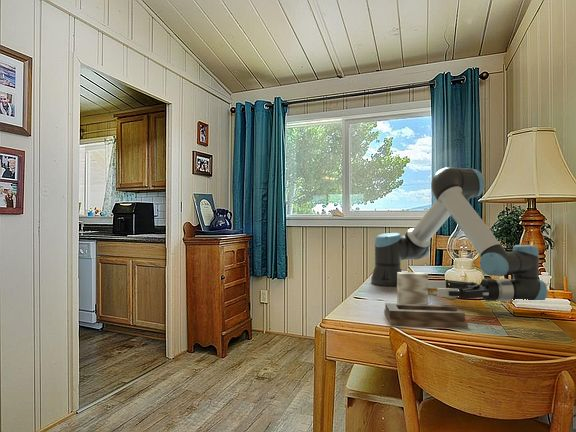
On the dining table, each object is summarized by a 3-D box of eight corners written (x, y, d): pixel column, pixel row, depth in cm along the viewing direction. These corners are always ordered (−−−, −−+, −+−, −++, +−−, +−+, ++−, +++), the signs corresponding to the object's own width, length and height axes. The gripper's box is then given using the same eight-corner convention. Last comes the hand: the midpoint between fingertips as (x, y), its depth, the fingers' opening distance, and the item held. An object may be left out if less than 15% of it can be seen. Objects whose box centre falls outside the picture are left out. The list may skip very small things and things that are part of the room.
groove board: (452, 314, 123) (452, 303, 123) (467, 328, 109) (467, 315, 109) (384, 312, 126) (384, 301, 126) (390, 325, 112) (390, 312, 112)
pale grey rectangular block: (425, 305, 135) (425, 272, 135) (427, 308, 131) (428, 274, 131) (396, 304, 136) (397, 272, 136) (398, 307, 133) (398, 273, 132)
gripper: (512, 310, 118) (442, 308, 120) (481, 292, 142) (423, 291, 145) (513, 286, 117) (443, 284, 120) (481, 273, 142) (423, 271, 145)
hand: (432, 288), depth 132 cm, fingers open, 13 cm apart
